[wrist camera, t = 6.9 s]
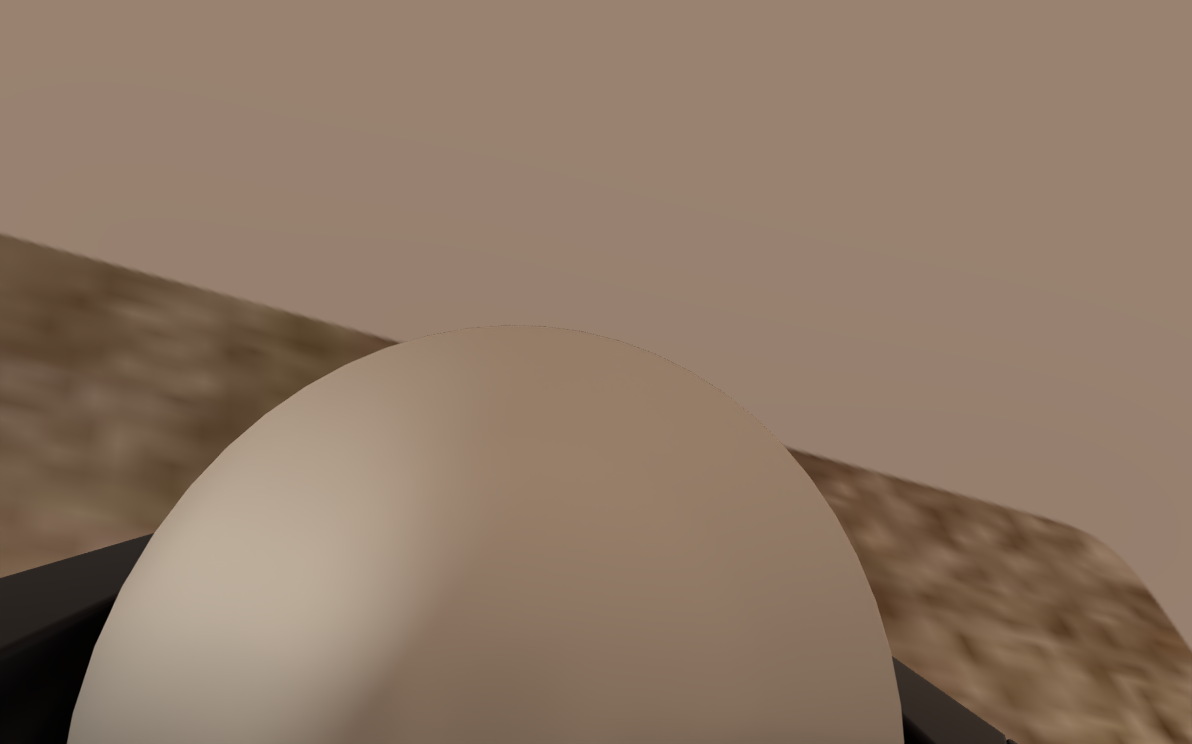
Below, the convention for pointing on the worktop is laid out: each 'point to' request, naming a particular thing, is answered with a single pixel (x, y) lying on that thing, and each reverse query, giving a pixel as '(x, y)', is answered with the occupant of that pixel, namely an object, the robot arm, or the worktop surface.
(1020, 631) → the worktop surface
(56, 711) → the robot arm
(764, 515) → the tumbler
